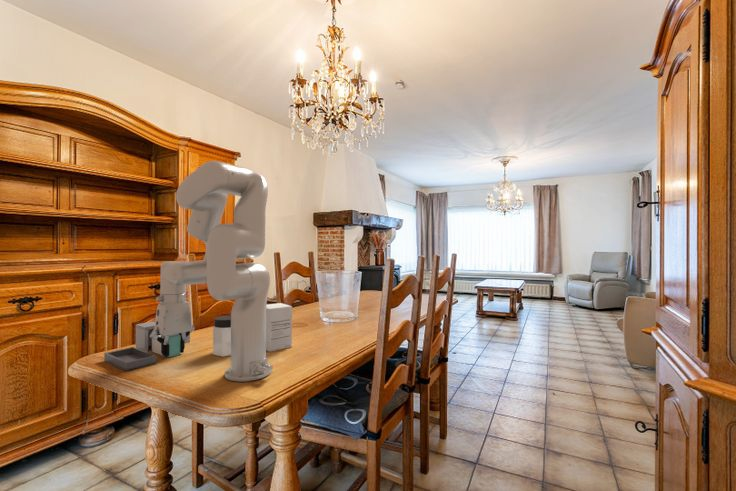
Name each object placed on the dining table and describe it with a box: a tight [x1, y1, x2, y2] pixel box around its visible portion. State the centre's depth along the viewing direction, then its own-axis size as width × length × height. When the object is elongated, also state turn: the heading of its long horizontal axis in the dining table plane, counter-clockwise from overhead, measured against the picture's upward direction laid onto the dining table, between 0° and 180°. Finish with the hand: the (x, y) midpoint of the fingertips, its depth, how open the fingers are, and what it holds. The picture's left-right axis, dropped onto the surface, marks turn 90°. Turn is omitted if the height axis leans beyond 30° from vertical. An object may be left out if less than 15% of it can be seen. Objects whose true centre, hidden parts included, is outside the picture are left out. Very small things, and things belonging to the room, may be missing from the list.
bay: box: [135, 321, 191, 353], centre depth 125 cm, size 7×16×10 cm, turn 146°
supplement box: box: [266, 302, 293, 352], centre depth 124 cm, size 9×9×15 cm
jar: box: [212, 314, 231, 358], centre depth 117 cm, size 9×8×12 cm
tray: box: [103, 346, 157, 372], centre depth 107 cm, size 16×8×2 cm, turn 56°
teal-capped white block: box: [151, 334, 182, 358], centre depth 116 cm, size 11×4×6 cm, turn 56°
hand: (173, 353), depth 114 cm, fingers closed on teal-capped white block, 4 cm apart
